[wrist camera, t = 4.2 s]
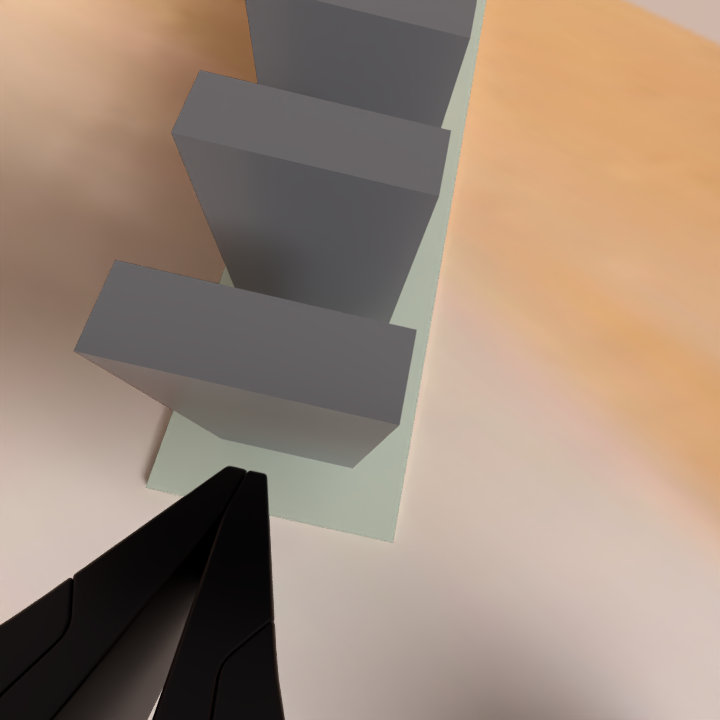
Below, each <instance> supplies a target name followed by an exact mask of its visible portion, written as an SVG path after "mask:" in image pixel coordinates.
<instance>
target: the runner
mask: <svg viewBox="0 0 720 720" xmlns="http://www.w3.org/2000/svg"><path fill="white" fill-rule="evenodd" d="M485 6H486V0H477V4H476V9H475V15H474V20H473V26H472V31H471V37H470V40H469V44H468V47H467V50H466V53H465V56H464V59H463V62H462V65H461V68H460V71H459V74H458V77H457V80H456V83H455V87H454V90H453V93H452V96H451V99H450V102H449V105H448V108H447V111H446V114H445V117H444V120H443V123H442V126H441V128H443V129H447V130H451V134H450V140H449V145H448V151H447V156H446V162H445V167H444V172H443V178H442V183H441V189H440V194H439V198H438V200H437V203H436V205H435V208H434V211H433V213H432V216H431V218H430V221H429V223H428V226H427V228H426V231H425V233H424V236H423V239H422V241H421V244H420V246H419V249H418V251H417V254H416V256H415V259H414V261H413V264H412V266H411V269H410V272H409V274H408V277H407V279H406V282H405V284H404V287H403V289H402V292H401V294H400V297H399V300H398V302H397V305H396V307H395V310H394V312H393V315H392V317H391V320H390V322H389V323H390V324H394V325H398V326H403V327H407V328H411V329H416V330H417V332H416V338H415V343H414V349H413V354H412V360H411V365H410V370H409V376H408V381H407V387H406V392H405V398H404V403H403V409H402V414H401V420H400V425H399V426H398V427H397V428H396V429H395V430H394V431H393V432H392V433H391V434H389V435H388V436H387V437H386V438H385V439H384V440H383V441H382V442H381V443H380V444H379V445H378V446H376V447H375V448H374V449H373V450H372V451H371V452H370V453H369V454H368V455H367V456H366V457H364V458H363V459H362V460H361V461H360V462H359V463H358V464H357V465H356V466H355V467H354V468H348V467H344V466H339V465H335V464H330V463H326V462H321V461H317V460H313V459H308V458H304V457H299V456H295V455H290V454H286V453H282V452H277V451H273V450H268V449H264V448H259V447H255V446H251V445H246V444H242V443H237V442H233V441H228V440H224V439H221V438H219V437H217V436H216V435H214V434H212V433H211V432H209V431H207V430H205V429H204V428H202V427H200V426H199V425H197V424H195V423H194V422H192V421H190V420H189V419H187V418H185V417H184V416H182V415H180V414H179V413H177V412H175V411H174V410H173V413H172V416H171V418H170V421H169V424H168V427H167V430H166V432H165V435H164V438H163V441H162V443H161V446H160V449H159V452H158V455H157V457H156V460H155V463H154V466H153V468H152V471H151V474H150V477H149V480H148V482H147V485H146V488H149V489H153V490H158V491H162V492H167V493H171V494H176V495H180V496H185V495H187V494H188V493H190V492H191V491H192V490H194V489H195V488H197V487H198V486H199V485H201V484H202V483H204V482H205V481H206V480H208V479H209V478H211V477H212V476H213V475H215V474H216V473H218V472H219V471H221V470H222V469H223V468H225V467H227V466H234V467H238V468H243V469H245V470H246V471H247V472H248V471H250V470H252V471H256V472H260V473H265V474H266V475H267V480H268V500H269V515H270V516H274V517H279V518H283V519H288V520H292V521H297V522H301V523H306V524H310V525H315V526H319V527H324V528H328V529H333V530H337V531H342V532H346V533H351V534H355V535H360V536H364V537H369V538H373V539H378V540H382V541H387V542H391V543H393V540H394V534H395V529H396V523H397V517H398V511H399V505H400V500H401V494H402V488H403V482H404V476H405V470H406V465H407V459H408V453H409V447H410V441H411V436H412V430H413V424H414V418H415V412H416V407H417V401H418V395H419V389H420V383H421V377H422V372H423V366H424V360H425V354H426V348H427V343H428V337H429V331H430V325H431V319H432V314H433V308H434V302H435V296H436V290H437V285H438V279H439V273H440V267H441V261H442V255H443V250H444V244H445V238H446V232H447V226H448V221H449V215H450V209H451V203H452V197H453V192H454V186H455V180H456V174H457V168H458V162H459V157H460V151H461V145H462V139H463V133H464V128H465V122H466V116H467V110H468V104H469V99H470V93H471V87H472V81H473V75H474V69H475V64H476V58H477V52H478V46H479V40H480V35H481V29H482V23H483V17H484V11H485ZM219 284H222V285H226V286H230V287H234V285H233V283H232V280H231V278H230V275H229V273H228V270H227V268H226V265H225V268H224V271H223V274H222V277H221V279H220V282H219Z"/></svg>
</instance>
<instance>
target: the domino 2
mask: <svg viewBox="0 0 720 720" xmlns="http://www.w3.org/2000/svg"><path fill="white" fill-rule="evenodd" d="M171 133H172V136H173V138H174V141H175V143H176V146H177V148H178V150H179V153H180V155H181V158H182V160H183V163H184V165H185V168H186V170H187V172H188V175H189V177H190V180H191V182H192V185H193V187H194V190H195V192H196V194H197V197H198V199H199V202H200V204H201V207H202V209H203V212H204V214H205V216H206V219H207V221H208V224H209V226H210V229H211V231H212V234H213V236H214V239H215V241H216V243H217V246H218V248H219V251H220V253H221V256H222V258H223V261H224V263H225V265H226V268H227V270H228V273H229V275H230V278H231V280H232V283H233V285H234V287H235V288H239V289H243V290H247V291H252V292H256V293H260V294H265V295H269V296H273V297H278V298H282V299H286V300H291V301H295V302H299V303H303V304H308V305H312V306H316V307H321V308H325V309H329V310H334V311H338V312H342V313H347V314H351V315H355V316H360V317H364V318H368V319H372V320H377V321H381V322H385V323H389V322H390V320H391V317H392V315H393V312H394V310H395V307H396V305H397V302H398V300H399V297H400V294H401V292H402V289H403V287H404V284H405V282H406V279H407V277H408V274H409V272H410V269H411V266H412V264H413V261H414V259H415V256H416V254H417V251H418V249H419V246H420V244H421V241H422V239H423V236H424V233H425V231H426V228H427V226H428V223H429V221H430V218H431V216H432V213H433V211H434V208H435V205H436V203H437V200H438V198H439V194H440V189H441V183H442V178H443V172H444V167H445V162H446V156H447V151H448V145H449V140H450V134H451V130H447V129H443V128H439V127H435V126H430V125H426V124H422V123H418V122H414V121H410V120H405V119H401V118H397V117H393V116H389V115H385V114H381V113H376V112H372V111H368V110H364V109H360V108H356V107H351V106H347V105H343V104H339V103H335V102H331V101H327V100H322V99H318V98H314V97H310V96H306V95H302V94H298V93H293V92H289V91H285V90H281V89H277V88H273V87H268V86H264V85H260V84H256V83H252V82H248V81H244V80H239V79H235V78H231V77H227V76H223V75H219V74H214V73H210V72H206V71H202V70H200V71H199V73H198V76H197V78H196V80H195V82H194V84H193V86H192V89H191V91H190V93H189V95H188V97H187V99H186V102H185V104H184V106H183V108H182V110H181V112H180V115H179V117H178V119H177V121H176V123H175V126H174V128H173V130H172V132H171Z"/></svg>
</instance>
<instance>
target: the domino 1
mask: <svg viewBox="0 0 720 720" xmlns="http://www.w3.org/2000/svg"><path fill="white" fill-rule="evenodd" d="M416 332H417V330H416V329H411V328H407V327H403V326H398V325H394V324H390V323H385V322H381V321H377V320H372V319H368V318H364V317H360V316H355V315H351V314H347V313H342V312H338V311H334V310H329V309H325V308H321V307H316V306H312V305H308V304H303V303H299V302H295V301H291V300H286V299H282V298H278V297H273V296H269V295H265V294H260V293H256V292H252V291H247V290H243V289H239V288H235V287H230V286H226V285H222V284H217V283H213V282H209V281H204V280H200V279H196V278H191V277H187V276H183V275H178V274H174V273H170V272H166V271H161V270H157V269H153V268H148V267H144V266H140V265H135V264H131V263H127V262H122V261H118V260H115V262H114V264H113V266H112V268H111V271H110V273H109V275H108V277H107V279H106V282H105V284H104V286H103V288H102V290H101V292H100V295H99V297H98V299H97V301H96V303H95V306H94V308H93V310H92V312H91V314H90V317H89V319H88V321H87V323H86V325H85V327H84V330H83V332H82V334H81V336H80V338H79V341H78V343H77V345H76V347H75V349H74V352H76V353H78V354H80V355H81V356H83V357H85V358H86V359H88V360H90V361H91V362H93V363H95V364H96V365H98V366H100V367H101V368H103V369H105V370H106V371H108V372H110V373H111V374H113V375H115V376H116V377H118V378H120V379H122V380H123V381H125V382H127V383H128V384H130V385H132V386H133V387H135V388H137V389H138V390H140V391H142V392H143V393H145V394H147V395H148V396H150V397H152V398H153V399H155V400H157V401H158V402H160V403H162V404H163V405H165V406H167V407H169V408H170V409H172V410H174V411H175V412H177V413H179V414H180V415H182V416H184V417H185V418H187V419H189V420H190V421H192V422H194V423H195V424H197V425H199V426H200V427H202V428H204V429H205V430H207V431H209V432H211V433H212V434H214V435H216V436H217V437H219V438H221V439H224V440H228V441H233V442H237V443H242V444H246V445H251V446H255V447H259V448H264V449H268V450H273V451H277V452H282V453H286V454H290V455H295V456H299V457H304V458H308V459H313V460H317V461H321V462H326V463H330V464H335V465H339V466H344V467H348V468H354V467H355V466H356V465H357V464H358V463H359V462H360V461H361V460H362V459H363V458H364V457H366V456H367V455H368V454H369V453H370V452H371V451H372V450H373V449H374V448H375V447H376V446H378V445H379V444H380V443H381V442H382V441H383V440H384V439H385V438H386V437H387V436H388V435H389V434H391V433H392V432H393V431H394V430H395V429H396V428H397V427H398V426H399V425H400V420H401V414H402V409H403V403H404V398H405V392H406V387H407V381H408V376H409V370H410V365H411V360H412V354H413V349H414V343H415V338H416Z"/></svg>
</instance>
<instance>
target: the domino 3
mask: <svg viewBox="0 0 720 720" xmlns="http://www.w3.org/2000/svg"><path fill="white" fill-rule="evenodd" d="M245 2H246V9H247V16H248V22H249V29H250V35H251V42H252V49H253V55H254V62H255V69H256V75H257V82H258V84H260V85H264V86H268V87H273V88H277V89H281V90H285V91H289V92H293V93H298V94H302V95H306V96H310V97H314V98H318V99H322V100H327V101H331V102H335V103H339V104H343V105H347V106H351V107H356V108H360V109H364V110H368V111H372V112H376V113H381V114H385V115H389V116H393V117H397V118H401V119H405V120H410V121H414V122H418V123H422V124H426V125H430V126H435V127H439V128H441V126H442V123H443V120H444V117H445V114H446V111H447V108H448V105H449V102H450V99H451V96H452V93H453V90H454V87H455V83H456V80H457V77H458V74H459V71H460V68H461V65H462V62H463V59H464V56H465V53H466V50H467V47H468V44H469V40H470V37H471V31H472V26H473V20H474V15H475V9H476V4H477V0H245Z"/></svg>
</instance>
